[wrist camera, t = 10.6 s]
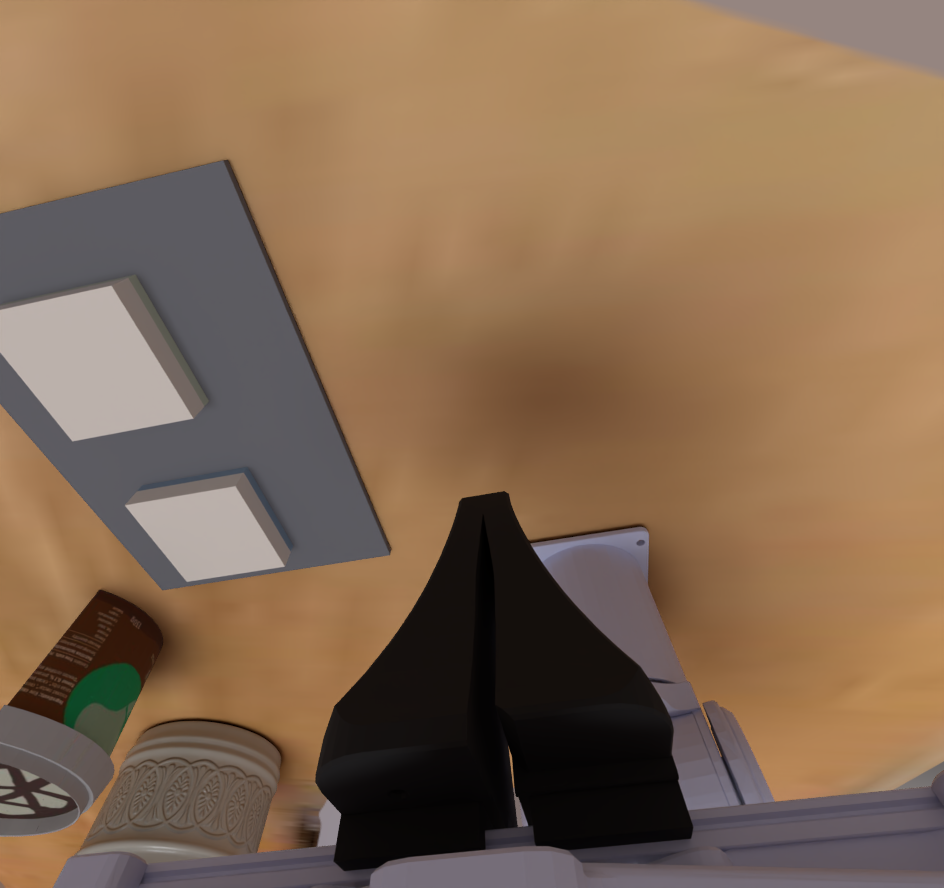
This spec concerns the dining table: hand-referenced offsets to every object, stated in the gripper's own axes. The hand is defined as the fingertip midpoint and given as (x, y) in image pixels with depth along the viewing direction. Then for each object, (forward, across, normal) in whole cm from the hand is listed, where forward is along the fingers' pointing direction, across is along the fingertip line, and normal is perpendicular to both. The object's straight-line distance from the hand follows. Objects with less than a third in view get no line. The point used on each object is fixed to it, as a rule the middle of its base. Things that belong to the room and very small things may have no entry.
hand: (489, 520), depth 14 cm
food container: (+11, +28, +16) cm, 34 cm away
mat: (+10, +15, 0) cm, 18 cm away
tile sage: (+9, +13, -4) cm, 16 cm away
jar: (+11, +31, +33) cm, 47 cm away
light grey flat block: (+9, +13, +6) cm, 17 cm away
